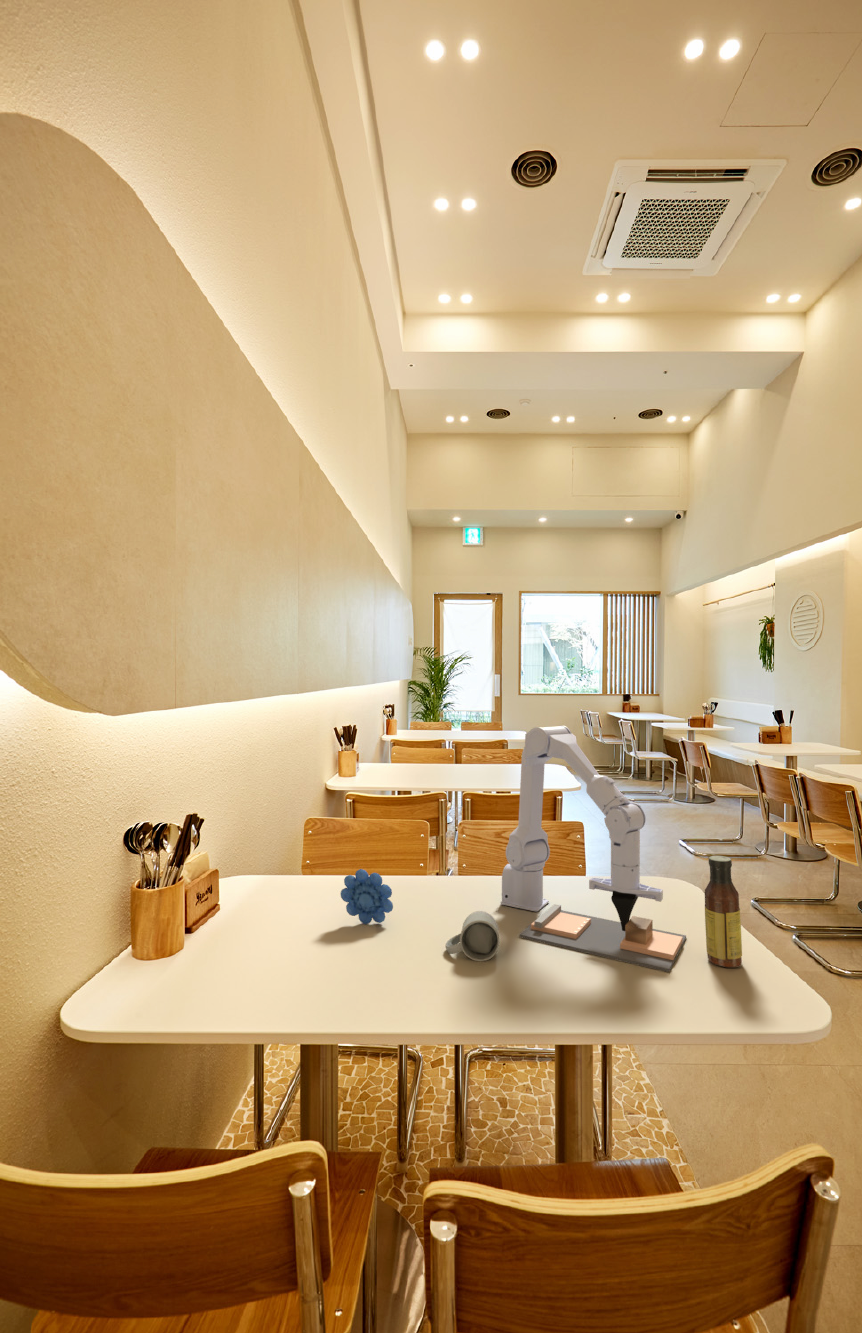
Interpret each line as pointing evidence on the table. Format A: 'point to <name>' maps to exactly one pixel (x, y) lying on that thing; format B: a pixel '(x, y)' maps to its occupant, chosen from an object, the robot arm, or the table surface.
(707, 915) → the sauce bottle
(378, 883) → the blue flower rosette
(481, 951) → the ceramic mug
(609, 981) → the table surface
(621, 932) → the mat
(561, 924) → the ticket
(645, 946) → the peach square slab
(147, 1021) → the table surface
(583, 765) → the robot arm
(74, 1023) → the table surface
